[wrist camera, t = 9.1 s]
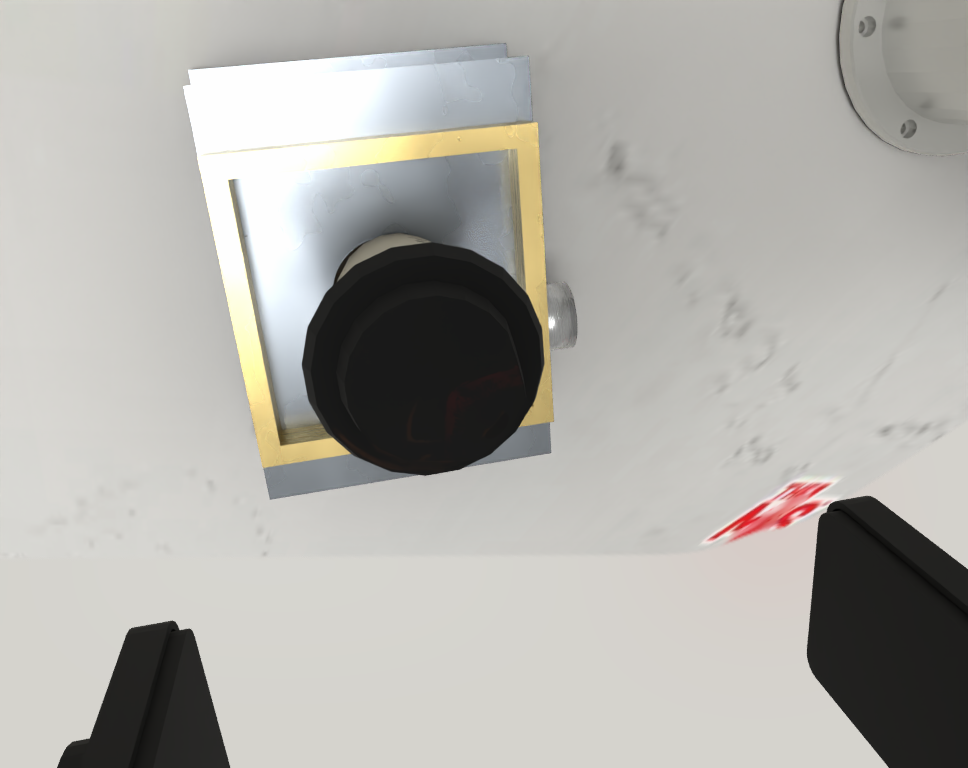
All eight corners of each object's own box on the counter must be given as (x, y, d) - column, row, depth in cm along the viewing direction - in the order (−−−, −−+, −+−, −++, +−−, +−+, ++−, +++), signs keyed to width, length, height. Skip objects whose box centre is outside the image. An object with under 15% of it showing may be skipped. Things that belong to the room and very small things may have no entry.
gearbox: (190, 70, 33) (152, 68, 25) (533, 41, 35) (595, 30, 27) (267, 443, 39) (255, 533, 31) (552, 398, 41) (606, 473, 34)
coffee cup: (267, 311, 30) (246, 412, 21) (380, 160, 29) (410, 196, 19) (414, 410, 32) (454, 539, 23) (522, 275, 31) (609, 354, 22)
